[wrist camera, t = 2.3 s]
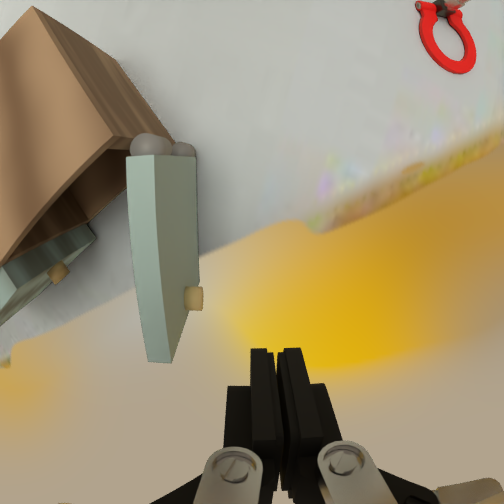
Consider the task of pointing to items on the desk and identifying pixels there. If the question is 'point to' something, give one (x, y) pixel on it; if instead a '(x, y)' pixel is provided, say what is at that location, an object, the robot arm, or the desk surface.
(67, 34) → the cabinet
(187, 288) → the cabinet door
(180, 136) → the desk surface
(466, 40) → the tow hook
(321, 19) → the desk surface
